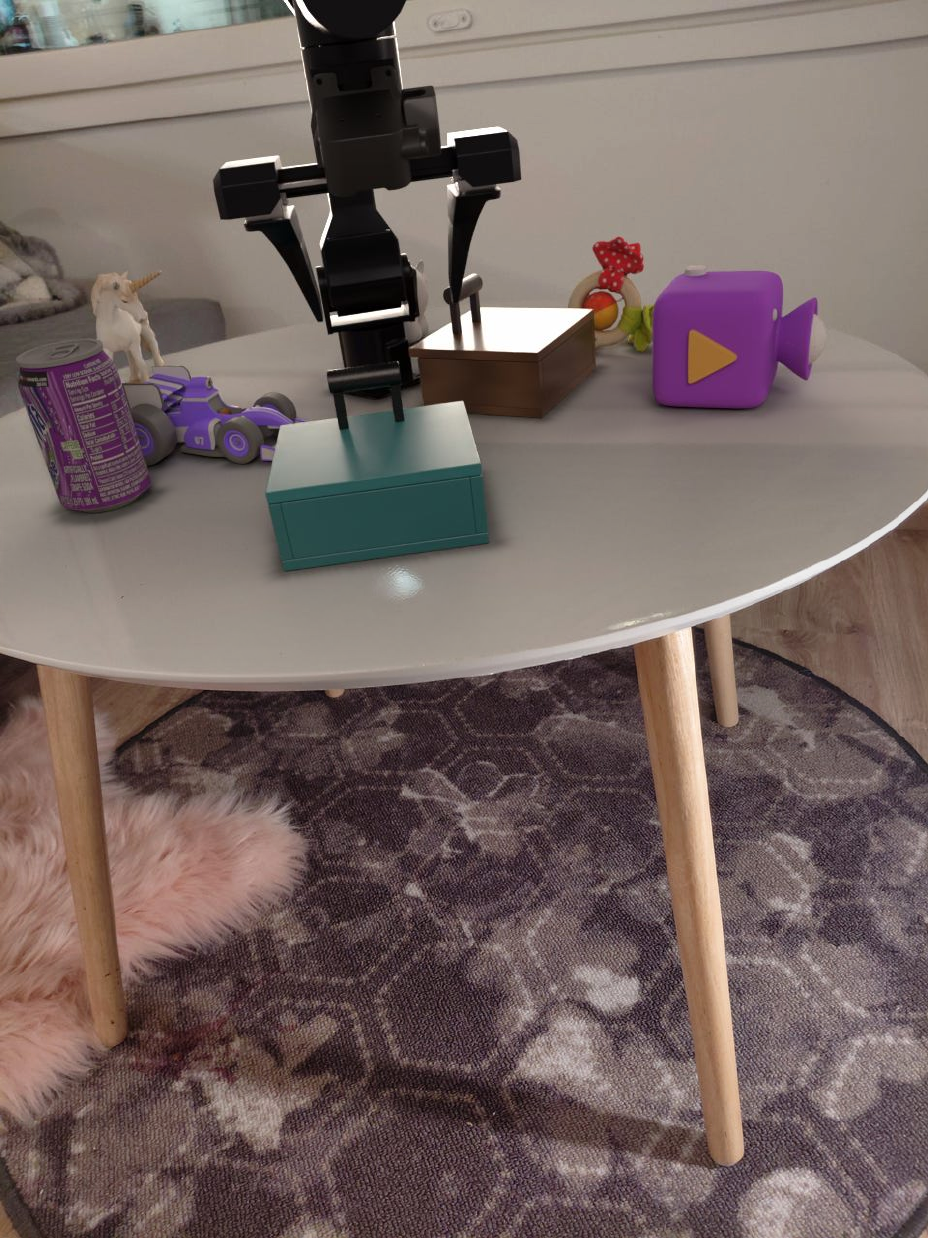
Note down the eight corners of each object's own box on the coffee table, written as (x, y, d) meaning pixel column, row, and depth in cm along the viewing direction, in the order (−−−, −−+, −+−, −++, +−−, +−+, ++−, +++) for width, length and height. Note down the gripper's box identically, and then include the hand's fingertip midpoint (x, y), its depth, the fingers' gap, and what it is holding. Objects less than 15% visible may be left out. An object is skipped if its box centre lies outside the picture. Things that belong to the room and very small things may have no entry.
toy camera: (827, 413, 74) (840, 283, 69) (651, 419, 77) (651, 294, 72) (812, 370, 83) (823, 252, 78) (655, 377, 86) (655, 263, 81)
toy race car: (274, 470, 77) (256, 392, 73) (122, 465, 82) (98, 393, 78) (323, 427, 84) (309, 355, 81) (181, 425, 89) (162, 357, 86)
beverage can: (76, 487, 78) (26, 343, 72) (161, 476, 78) (118, 331, 72) (51, 524, 72) (-6, 370, 66) (143, 512, 72) (95, 357, 66)
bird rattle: (595, 381, 94) (680, 337, 91) (543, 279, 89) (632, 230, 86) (594, 362, 99) (674, 321, 96) (545, 265, 94) (628, 218, 91)
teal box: (294, 499, 71) (281, 439, 69) (472, 475, 72) (465, 415, 69) (283, 571, 61) (267, 505, 59) (489, 543, 62) (482, 475, 59)
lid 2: (409, 357, 83) (401, 299, 81) (475, 315, 93) (470, 262, 91) (538, 362, 78) (534, 300, 75) (594, 317, 88) (592, 261, 85)
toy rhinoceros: (454, 319, 112) (446, 243, 108) (420, 349, 103) (409, 268, 98) (399, 320, 115) (388, 247, 110) (360, 350, 105) (347, 270, 101)
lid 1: (282, 435, 69) (267, 368, 67) (464, 410, 70) (457, 343, 67) (267, 504, 59) (249, 428, 56) (482, 474, 59) (474, 397, 57)
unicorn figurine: (126, 429, 90) (81, 285, 83) (98, 382, 105) (59, 257, 98) (199, 411, 92) (162, 270, 85) (162, 367, 108) (128, 245, 101)
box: (424, 410, 85) (417, 358, 83) (487, 363, 95) (483, 316, 93) (541, 418, 80) (538, 362, 78) (596, 368, 90) (594, 317, 88)
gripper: (169, 64, 48) (239, 363, 57) (526, 19, 49) (544, 321, 57) (198, 62, 58) (255, 319, 66) (497, 25, 59) (516, 283, 67)
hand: (388, 311), depth 64 cm, fingers open, 9 cm apart
